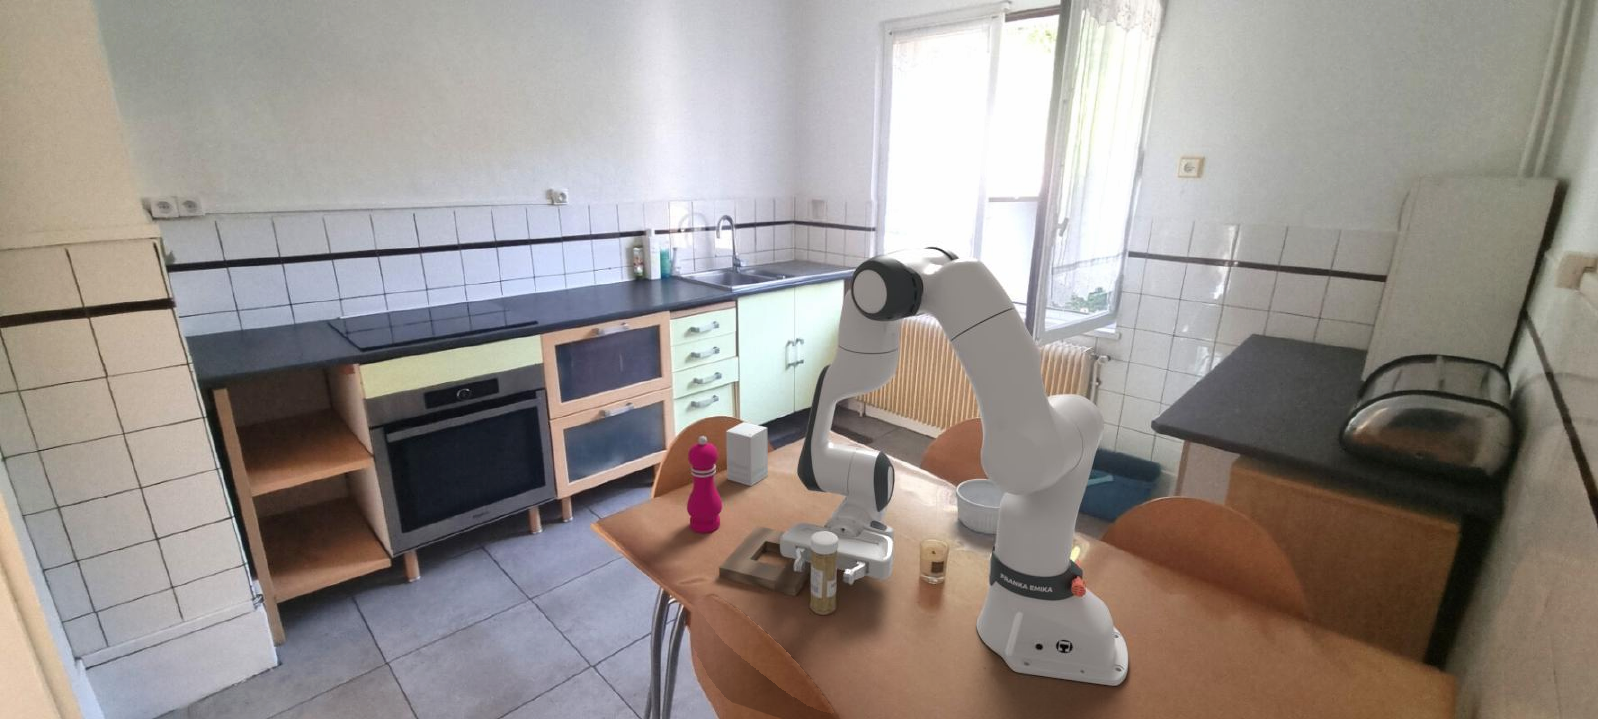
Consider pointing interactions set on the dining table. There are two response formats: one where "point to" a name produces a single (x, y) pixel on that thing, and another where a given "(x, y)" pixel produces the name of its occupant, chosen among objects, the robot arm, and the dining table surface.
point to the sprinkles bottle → (823, 572)
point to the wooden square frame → (763, 564)
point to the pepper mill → (704, 488)
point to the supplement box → (747, 453)
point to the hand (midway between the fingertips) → (822, 573)
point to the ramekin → (979, 505)
